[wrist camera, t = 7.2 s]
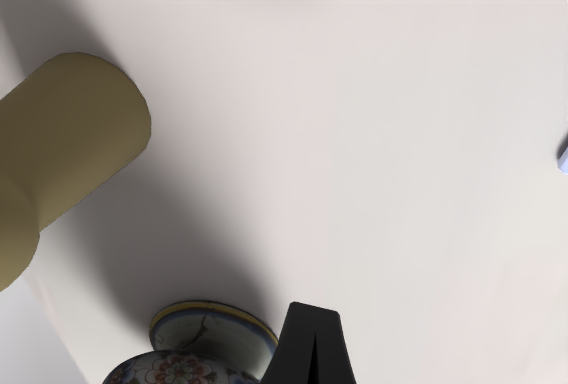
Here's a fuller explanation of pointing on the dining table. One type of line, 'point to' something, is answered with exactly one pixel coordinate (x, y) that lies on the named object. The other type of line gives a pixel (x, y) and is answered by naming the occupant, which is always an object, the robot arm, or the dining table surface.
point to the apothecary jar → (200, 348)
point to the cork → (62, 146)
